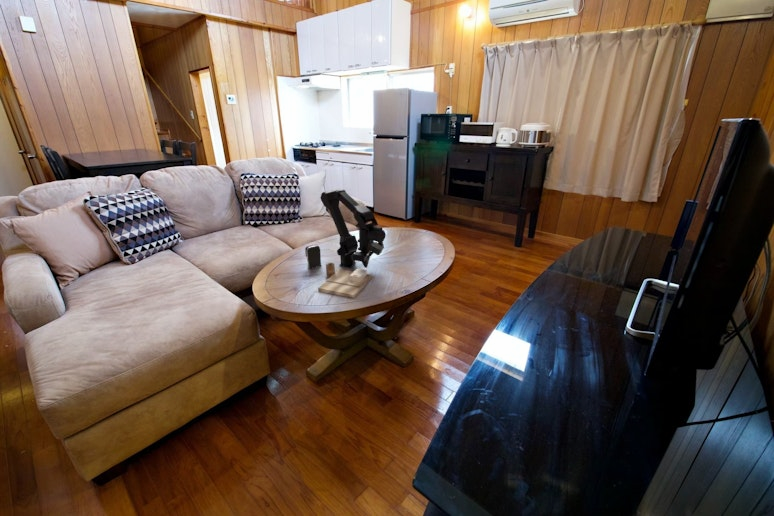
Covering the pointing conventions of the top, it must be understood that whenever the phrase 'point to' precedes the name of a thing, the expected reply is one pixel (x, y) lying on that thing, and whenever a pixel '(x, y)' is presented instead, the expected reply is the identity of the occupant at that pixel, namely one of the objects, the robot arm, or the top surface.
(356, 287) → the plank
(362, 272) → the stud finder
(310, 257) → the battery charger
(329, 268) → the brown knobbed cylinder
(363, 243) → the robot arm
